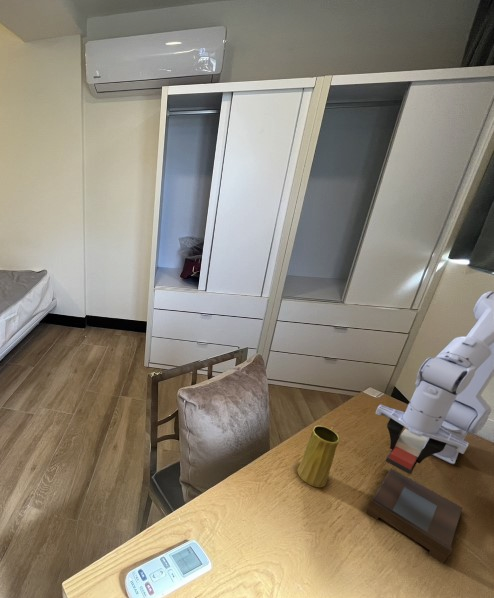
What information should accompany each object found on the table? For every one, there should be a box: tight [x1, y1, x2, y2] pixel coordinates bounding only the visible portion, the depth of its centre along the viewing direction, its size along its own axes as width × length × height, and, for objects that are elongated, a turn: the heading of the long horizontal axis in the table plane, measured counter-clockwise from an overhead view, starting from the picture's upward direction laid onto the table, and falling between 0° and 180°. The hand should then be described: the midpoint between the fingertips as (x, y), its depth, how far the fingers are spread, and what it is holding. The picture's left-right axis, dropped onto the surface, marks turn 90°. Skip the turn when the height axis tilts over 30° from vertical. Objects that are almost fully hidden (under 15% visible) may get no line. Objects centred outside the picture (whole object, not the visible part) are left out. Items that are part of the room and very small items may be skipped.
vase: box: [296, 425, 341, 488], centre depth 74 cm, size 6×6×14 cm
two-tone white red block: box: [385, 428, 428, 475], centre depth 73 cm, size 10×4×4 cm, turn 125°
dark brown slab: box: [365, 468, 463, 564], centre depth 67 cm, size 16×12×4 cm
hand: (405, 453), depth 73 cm, fingers closed on two-tone white red block, 4 cm apart
